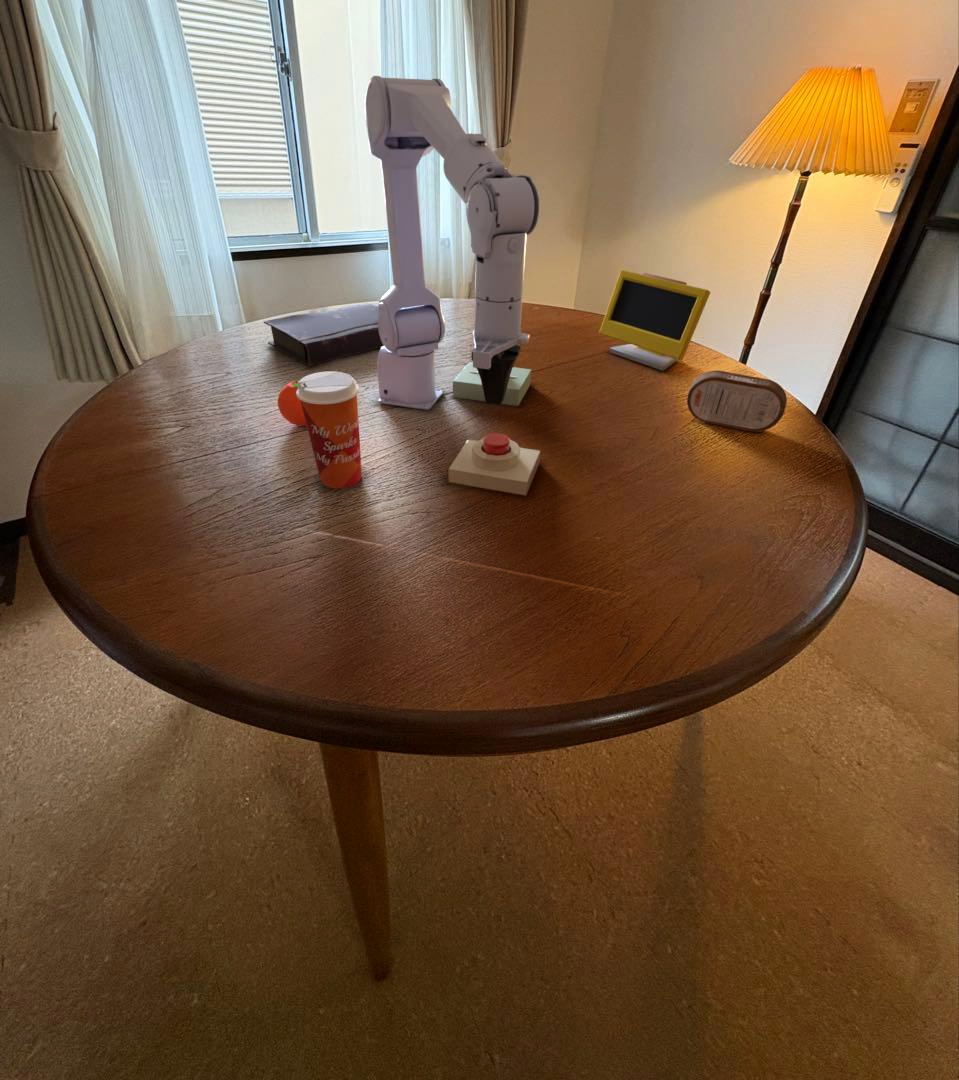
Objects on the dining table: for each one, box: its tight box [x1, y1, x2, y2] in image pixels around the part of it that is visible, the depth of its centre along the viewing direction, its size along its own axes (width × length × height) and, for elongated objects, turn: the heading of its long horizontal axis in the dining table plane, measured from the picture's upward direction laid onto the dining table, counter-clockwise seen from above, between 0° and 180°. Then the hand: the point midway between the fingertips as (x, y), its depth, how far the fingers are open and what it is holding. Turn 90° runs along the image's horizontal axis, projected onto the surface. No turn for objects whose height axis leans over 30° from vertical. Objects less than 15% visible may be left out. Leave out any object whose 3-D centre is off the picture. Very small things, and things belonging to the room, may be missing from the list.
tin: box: [686, 369, 788, 433], centre depth 91 cm, size 15×3×8 cm, turn 65°
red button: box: [483, 432, 511, 456], centre depth 77 cm, size 4×4×2 cm
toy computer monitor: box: [598, 269, 711, 372], centre depth 113 cm, size 20×8×16 cm, turn 41°
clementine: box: [277, 380, 307, 427], centre depth 88 cm, size 8×7×7 cm
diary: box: [263, 302, 384, 367], centre depth 120 cm, size 19×25×5 cm
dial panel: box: [452, 361, 532, 407], centre depth 102 cm, size 12×10×3 cm
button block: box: [448, 437, 541, 496], centre depth 79 cm, size 11×9×4 cm
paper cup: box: [296, 370, 362, 489], centre depth 74 cm, size 8×8×14 cm
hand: (494, 402), depth 76 cm, fingers closed
